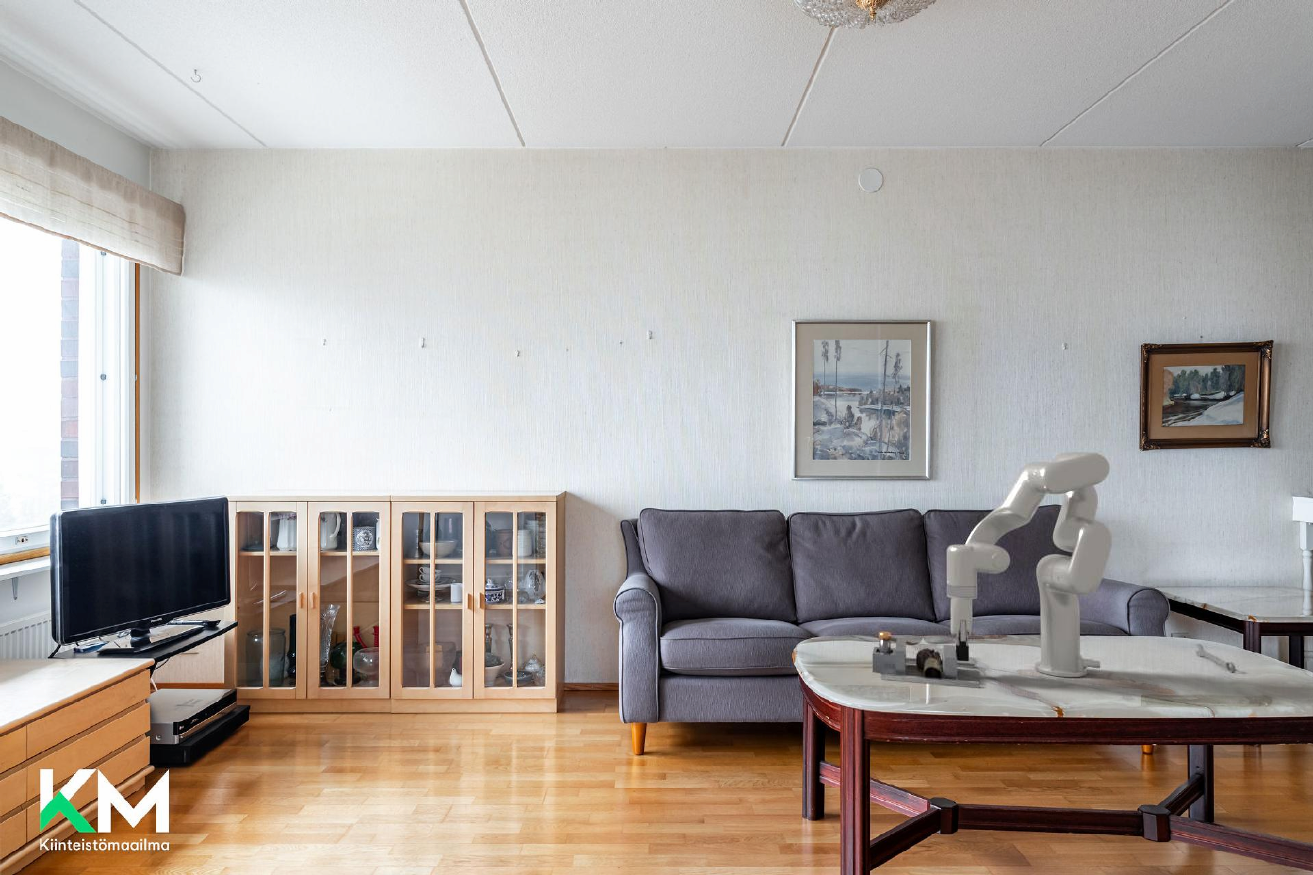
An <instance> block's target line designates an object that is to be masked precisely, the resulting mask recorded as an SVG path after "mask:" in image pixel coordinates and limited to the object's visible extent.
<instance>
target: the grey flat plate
mask: <svg viewBox="0 0 1313 875" xmlns="http://www.w3.org/2000/svg"><path fill="white" fill-rule="evenodd" d="M907 663H908V664H916V657H907V656H906V664H907ZM941 666H942V664H941ZM957 668H967V669H968V668H969V669H970V668H971V669H975V662H971V661H957ZM880 680H887V681H895V682H896V681H898V682H908V683H909V682H910V683H921V684H930V685H940V686H941V685H943V686H956V687H965V688H977V689H980V682H979V681H972V680H963V679H957V680H952V679H945V678H943V679H940V678H929V677H924V676H915V675H906V674H905V675H895V674H889V673H880Z"/></svg>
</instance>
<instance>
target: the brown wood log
mask: <svg viewBox="0 0 1313 875" xmlns="http://www.w3.org/2000/svg"><path fill="white" fill-rule="evenodd" d="M915 658H916V663H915V664H916V665H915V666H916V668H917V670H919V671H920V672H923V677H929V678H940V679H944V676H943V669H942V665H941V664H942V655H941V653H940V652H938V651H935V649H934V648H932V649H930V648H929V647H926V648H923V649H920V650H919V651H917V653H916V656H915Z"/></svg>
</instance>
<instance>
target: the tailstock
mask: <svg viewBox="0 0 1313 875" xmlns="http://www.w3.org/2000/svg"><path fill="white" fill-rule="evenodd" d="M895 642H896V643H895V647H891V653H879V646H874V647H873V651H872V673H879V674H881V673H882V674H894V675H905V676H906V673H907V663H906V657H907V639H906V638H905V639H904V638H896V641H895Z"/></svg>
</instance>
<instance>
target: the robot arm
mask: <svg viewBox="0 0 1313 875" xmlns="http://www.w3.org/2000/svg"><path fill="white" fill-rule="evenodd" d="M1110 469H1111V468H1110V463H1109V461H1108V459H1107V458H1106V457H1105V456H1103V455H1102V454H1100V453H1098V452H1090V451H1088V452H1087V451H1085V452H1082V451H1080V452H1079V451H1078V452H1077V451H1072V452H1071V451H1068V452H1062V453H1059V454H1057V455H1055V457H1054V458H1053V459H1052V461H1051V462H1048V461H1047V462H1046V461H1043V462H1042V461H1033V462H1029V463H1027V464H1025V465H1024V466H1022V467H1021V469H1020V470H1019V472H1018V474H1017V475H1016V478H1015V479H1014V480H1013V482H1012V484H1011V486H1010V488H1009V489H1008V491H1007V493H1006V494H1005V496H1004V497H1003V499H1002V500H1001V503H1000V504H999V505H998V507H996V508H994V509H993V510H992V511H991V512H990V513H989V514H987V515H986V516H985V517H984V518H983V519H982V520H981V521H980V522H978V524H976V525H975V527H974V528H973V529H972V531H971V533H970V535H969V536H968V538H967V540H966V542H965V544H951V545H949V546H948V547H947V549H946V597H948V598H950V632H951V635H952V636H956V644H955V649H956V655H957V661H960V662H970V646H969V637H971V636H972V630H973V629H972V628H973V600H975V599H978V584H977V583H978V576H977V575H978V573H986V574H992V575H993V574H1001V573H1003V572H1004V571H1006V570H1007V569H1008V567H1009V566H1010V564H1011V557H1010V555H1009V553H1008V551H1007V550H1006V549H1004V548H1002V547H1001V546H998V545H995V544H996V543H997V542H998V541H999V540H1000V539H1001V537H1003V536H1004V535H1005V534H1007V533H1009V532H1011V531H1013V530H1015V529H1018V528H1021V527H1023V526H1025V525H1026V524H1028V523H1030V522H1031V520H1032V518H1033V516H1034V515H1035V514H1036V512H1037V510H1038V508H1039V506H1040V505H1041V503H1042V502H1043V500H1044V498H1045V496H1046V495H1061V494H1062V496H1063V498H1062V503H1061V506H1060V511H1059V513H1058V517H1057V520H1056V523H1055V527H1054V529H1053V535H1052V541H1053V543H1054V545H1055V546H1056V547H1057V548H1059V549H1060V550H1062V551H1065V552H1069V553H1072V555H1071V556H1069V555H1065V554H1057V553H1054V554H1048V555H1046V556H1043V557H1042V558H1041V559H1040V560H1039V562H1038V563H1037V565H1036V573H1035V574H1036V580H1037V585H1038V590H1039V600H1040V601H1039V602H1040V661H1037V662H1036V663H1035V664H1034V669H1035V670H1036V671H1038V672H1040V673H1043V674H1045V675H1051V676H1054V677H1055V676H1056V677H1064V678H1079V677H1084V676H1086V675H1088V671H1087V669H1088V668H1092V669H1101V662H1100V660H1093V659H1092V658H1084V657H1083V656H1082V655H1081V635H1080V634H1081V628H1080V627H1081V626H1080V625H1081V624H1080V622H1081V616H1080V615H1081V614H1080V613H1081V612H1080V602H1079V599H1078V596H1081V597H1085V596H1089V595H1092V594H1093V593H1094V592H1096V590H1097V589H1098V588H1099V587H1100V584H1101V582H1102V579H1103V577H1104V573H1105V570H1106V567H1107V563H1108V561H1109V557H1110V553H1111V550H1112V546H1113V537H1112V534H1111V533H1112V532H1111V531H1110V529H1109V527H1108V526H1107V525H1106V524H1105V523H1103V522H1102V521H1099V520H1096V519H1095V518H1096V515H1097V514H1096V513H1097V510H1098V504H1099V499H1098V498H1099V497H1098V494H1097V490H1096V488H1095V486H1096V485H1099V484H1100V483H1102V482H1104V481H1105V480H1106V478H1107V477H1108V476H1109V474H1110Z"/></svg>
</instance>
